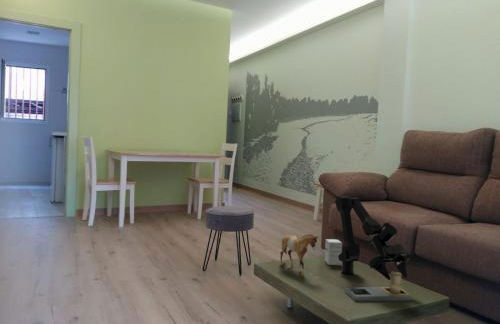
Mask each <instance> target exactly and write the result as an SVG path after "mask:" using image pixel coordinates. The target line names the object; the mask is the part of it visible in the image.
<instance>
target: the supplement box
mask: <svg viewBox="0 0 500 324" xmlns="http://www.w3.org/2000/svg"><path fill="white" fill-rule="evenodd" d="M324 246H325V247H324V248H325V249H324V262H326V264H327V265H328V266H342V261H340V260H339V258H338V256H339V255H340V253H341V252H342V246H343V243H342V241H340V240H339V239H335V238H330V239H329V238H328V239H327V238H326V239H325V243H324Z"/></svg>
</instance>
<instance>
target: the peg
mask: <svg viewBox="0 0 500 324" xmlns="http://www.w3.org/2000/svg"><path fill="white" fill-rule="evenodd" d="M390 278H391V279H390V280H389V281H390V282H389V287H390V293H391V294H400V291H401V289H402V274H401V273H400V271H399V272H397V271H391V272H390Z"/></svg>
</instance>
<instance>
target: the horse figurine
mask: <svg viewBox="0 0 500 324" xmlns="http://www.w3.org/2000/svg"><path fill="white" fill-rule="evenodd" d="M318 238H319V236H314V235H313V234H306V235H305V234H304V235H303V236H301V237H299V238H297V235H294V234H287V235H285V236H283V238H282V240H281V251H280V259H279V261H280V262H279V264H280V266H283V265H284V262H283V255H284V254H286V255H288V256H289V260H290V266H291V267H294V260H293V258H292V254H291V253H292V252H294V253H296V255H297V257H298V259H299V265H298V268H299V272H300V273H301V276H302V277H305V268H304V267H305V265H304V264H305V263H304V261H303V258H304V257H305V255H306V253H307V252H308V246H309V245H310V246H311V248H312V250H313V251H317V249H318V248H317V242H318V240H317V239H318ZM287 248H288V249H289V250H287Z"/></svg>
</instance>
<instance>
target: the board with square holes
mask: <svg viewBox="0 0 500 324" xmlns="http://www.w3.org/2000/svg"><path fill="white" fill-rule="evenodd" d="M344 289H345V290H344V291H345V293H346V294H347V295H348V296H349V297H350V298H351V299H352V300H353V301H354V302H389V301H390V302H401V301H402V302H403V301H404V302H406V301H407V302H411V301H412V295H411V294H410V293H409V292H407V291H406V290H404V289H403V288H401V291H400V294H391V293H390V286H357V287H353V286H350V287H349V286H346V287H345V288H344Z"/></svg>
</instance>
